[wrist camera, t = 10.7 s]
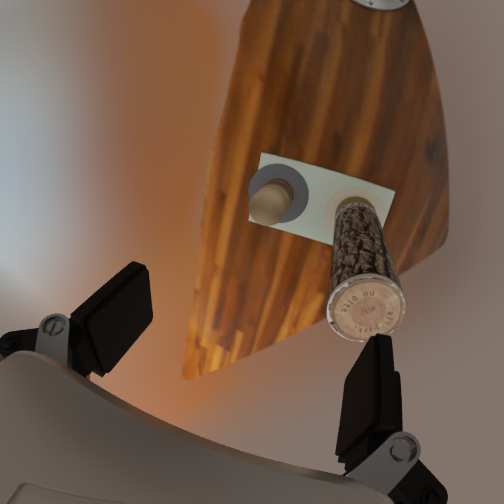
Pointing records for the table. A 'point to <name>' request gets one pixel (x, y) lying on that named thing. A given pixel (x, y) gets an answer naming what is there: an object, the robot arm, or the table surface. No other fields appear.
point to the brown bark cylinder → (362, 275)
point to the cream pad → (351, 192)
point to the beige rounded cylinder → (271, 202)
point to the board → (309, 193)
